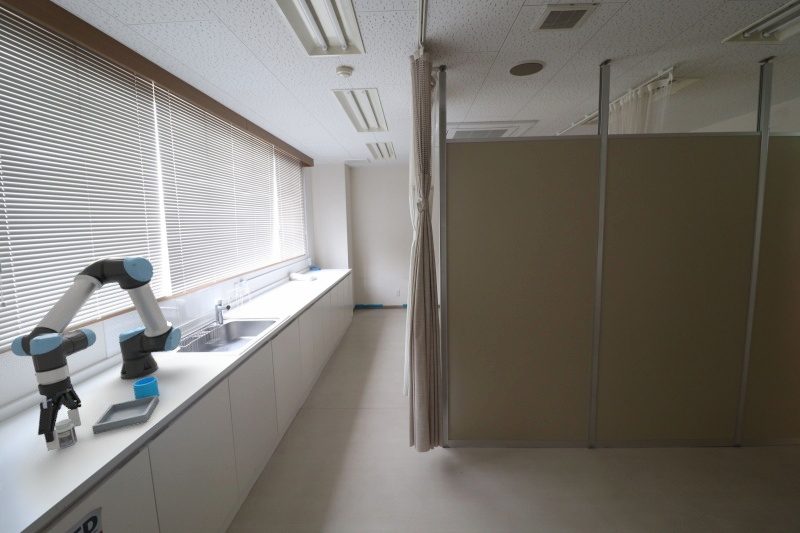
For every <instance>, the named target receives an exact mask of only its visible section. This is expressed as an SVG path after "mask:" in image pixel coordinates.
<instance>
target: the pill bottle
mask: <svg viewBox="0 0 800 533" xmlns="http://www.w3.org/2000/svg"><path fill="white" fill-rule="evenodd" d="M55 429H56V430H57V435H58V440H59V444H60V448H59V449H65V448H69V447H70V446H73V445H74V444H76V443H77V441H78V438H77V433H76V430H75V429H76V427H74V424H72V421H71V419H69V418H66V419H62V420H60V421H58V422H56V424H55V428H54V430H55Z"/></svg>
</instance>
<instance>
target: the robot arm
mask: <svg viewBox="0 0 800 533" xmlns="http://www.w3.org/2000/svg"><path fill="white" fill-rule="evenodd" d="M153 275H154V267H153V264H152V262H151V261H150V260H149V259H147V257H144V256H142V255H141V256H140V255H138V256H137V255H128V256H127V255H126V256H125V255H124V256H110V257H101V258H99V259H96V260H95V261H93V262H90V263H89V264H88V265H86V266H84V268H83V269H82V270H80V271H79V272H78V273H77V274H76V275H75V276H74V278H73V282H74V283H73V284H71V285H70V286H69V288H68V289H67V290H66V291H65V292H64V294H62V296H61V297H60V298H59V299H58V301H57V302H55V304H54V305H53V306H52V307H51V308H50V310H49V311H48V312H47V313H46V314H45V315H44V317H42V319H41V320H40V321H39V322H38V323H37V324H36V326H35V327H33V330H31V332H29V334H24V335H20V336H18V337H16V338H14V339H13V340H12V342H11V344H10V349H11V352H12V354H14V355H15V356H18V357H31V359H32V363H33V367H34V372H35V373H34V376H35V377H36V378H35V379H36V382H37V389H38V393H39V395H40V396H45V397H46V401H42V402H40V403H39V410H40V411H39V421H38V431H37V435H38V436H43V435H44V440H45V444H46V448H47V452H50V451H51V452H52V451H54V450H58V449H61V448H60V444H59V440H58V435H57V430H56V429H55V424H56V423H57V418H58V416H59V415H58V413H59V411H60V410H61V409H62V406H64V408H65V407H66V409H68V410H67V416H68V419H71V421H72V424H74V427H75V428H76V427H80V426H82V422H81V415H80V411H79V408H82V400H81V399H80V397H79V396H78V393H76V391H75V390H74V386H73V384H72V381H71V376H70V370H69V365H68V358H67V357H70V356H71V355H74V354H77V353H78V352H81V351H83V350H87V349H88V348H90V347H92V346H93V345H94V344H95V343H96V340H97V335H96V333H95V332H94V331H93V330H92V329H91V328H86V327H83V328H79V329H76V330H74V331H66V332H65V330H66V328H67V327H68V326H69V325H70V323H72V321H73V320H74V319H75V317H76V316H77V315H78V313H79V312H80V311H81V309H82V308H83V307H85V304H87V302H88V301H89V300H90V298H91V297H92V295H93V294H94V293H95V292H96V291H99V290H101V289H102V288H103V286H105V285H107V284H115V283H118V285H119V288H120V289H121V290H123V291H126V292H127V294H128V297H129V298H130V299H131V302H132V303H133V305H134V308H135V309H136V312H137V314H138V315H139V318H140V320H141V322H142V323H143V326H139V327H134V328H132V329H127V330H126V331H124V332H121V333H120V334H119V336H118V340H119V341H118V343H119V347H120V352H121V353H120V354H121V357H122V365H121V370H120V377H121V379H123V380H131V379H137V378H141V377H144V376H147V375H149V374H152V373H154V372H155V371H157V370H158V368H159V366H158V362H157V361H156V359H155V358H154V356H153V354H152V353H161V352H163V353H164V352H170V351H174V350H176V349H177V348H178V347H179V345H180V344H181V340H182V331H181V329H180V328H179V327H173V325H172V323H171V322H170V321H167V320H166V318H165V315H164V313H163V311H162V308H161V306H160V305H159V303H158V300H157V298H156V296H155V294H154V291H153V290H152V287H151V285H150V283H151V281H152V278H153Z"/></svg>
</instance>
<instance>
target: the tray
mask: <svg viewBox="0 0 800 533" xmlns="http://www.w3.org/2000/svg"><path fill="white" fill-rule="evenodd" d="M159 397H160V396H159ZM159 397H158V395H154V396H149V397H144V398H139V399H135V398H134V399H131V400H126V401H122V402H121V401H120V402H117V403H116V402H115V403H111V404H109V406H108V407H107V409H106V410H105V411H104V412H103V413H102V415H101V416H99V418H98V419H97V420H96V422H94V424H92V432H93V434H94V435H95V434H100V433H103V432H108V431H112V430H117V429H120V428H124V427H129V426H134V425H133V424H135V425H138V424H137V423H139V424H142V423H141V422H143V423H146V422H145V421H147V420H148V421H149V419H150V417H151V416H150V415H152V414H153V412H154V411H155V409H156V408H157V405H159V402H160V398H159ZM148 421H147V422H148Z"/></svg>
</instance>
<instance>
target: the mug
mask: <svg viewBox="0 0 800 533" xmlns="http://www.w3.org/2000/svg"><path fill="white" fill-rule="evenodd" d="M132 386H133V392H134V400H135V399H139V398H144V397H149V396H154V395H158V397H160V392H159V390H160V389H159V385H158V378H157V377H156V376H147V377H144V378H141V379H138V380H136V381H135V382H133V384H132Z"/></svg>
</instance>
